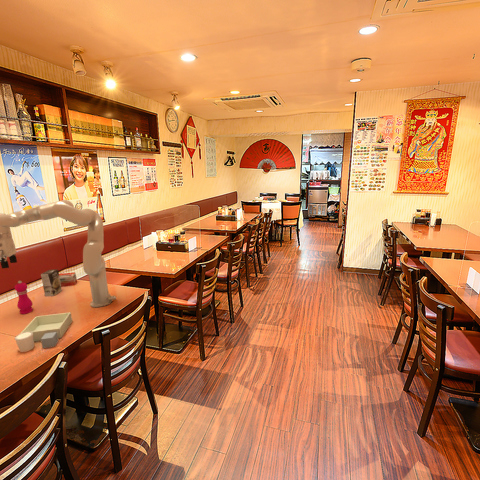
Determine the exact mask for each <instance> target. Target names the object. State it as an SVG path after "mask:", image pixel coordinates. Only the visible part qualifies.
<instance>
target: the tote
mask: <svg viewBox="0 0 480 480" xmlns="http://www.w3.org/2000/svg"><path fill="white" fill-rule="evenodd" d="M72 323H73V318H72V312H71V311H70V312H64V313H63V312H62V313H54V314H53V313H52V314H45V315H38V316H35V317H34V318H33V319H32V320H31V321H30V322H29V323H28V324H27V325H26V326H25V328H24V329H23V330H22V331H21V332H20V333H19V334H21V333H24V332H32V333H33V340H34V343H36V342H41V338H42V337H43V336H44V334H45V333H53V332H57V336H58V340H59V339H62V338H63V337H64V335H65V333H66V331H68V329H69V327H70V326H71V324H72Z"/></svg>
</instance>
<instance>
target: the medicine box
mask: <svg viewBox="0 0 480 480" xmlns="http://www.w3.org/2000/svg"><path fill="white" fill-rule="evenodd" d="M59 277H60V283H61V288H66V287H67V288H68V287H73V286H75V285H76V284H77V281H78V279H77V274H76V272H66V273H65V272H63V273H59Z"/></svg>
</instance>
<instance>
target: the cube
mask: <svg viewBox="0 0 480 480" xmlns="http://www.w3.org/2000/svg"><path fill="white" fill-rule="evenodd" d="M40 342H41V347H42V349H47V348H55V347H56V345H57V344H58V342H59V339H58V336H57V332H53V333H45V334H44V336H43V337H42V338H41V341H40Z"/></svg>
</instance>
